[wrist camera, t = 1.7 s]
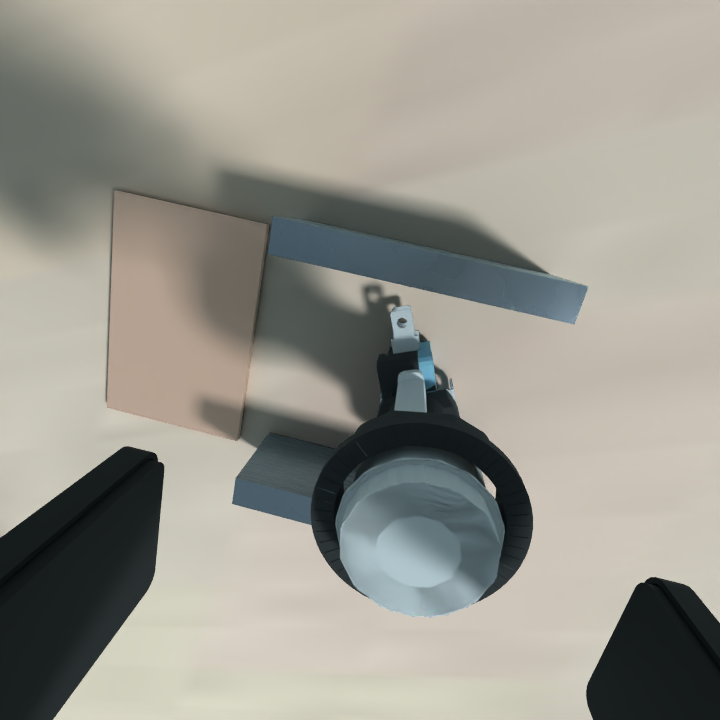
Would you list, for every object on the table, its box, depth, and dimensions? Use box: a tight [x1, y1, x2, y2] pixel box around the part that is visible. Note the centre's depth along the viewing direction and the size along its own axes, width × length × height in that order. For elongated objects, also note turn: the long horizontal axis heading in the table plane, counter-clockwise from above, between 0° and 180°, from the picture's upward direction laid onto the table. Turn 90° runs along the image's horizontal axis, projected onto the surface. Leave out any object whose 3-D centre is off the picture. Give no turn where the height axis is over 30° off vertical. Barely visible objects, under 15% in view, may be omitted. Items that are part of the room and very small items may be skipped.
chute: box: [232, 216, 588, 525], centre depth 17 cm, size 10×11×4 cm
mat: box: [107, 190, 269, 441], centre depth 19 cm, size 7×10×1 cm, turn 168°
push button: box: [311, 305, 533, 617], centre depth 14 cm, size 7×5×10 cm
